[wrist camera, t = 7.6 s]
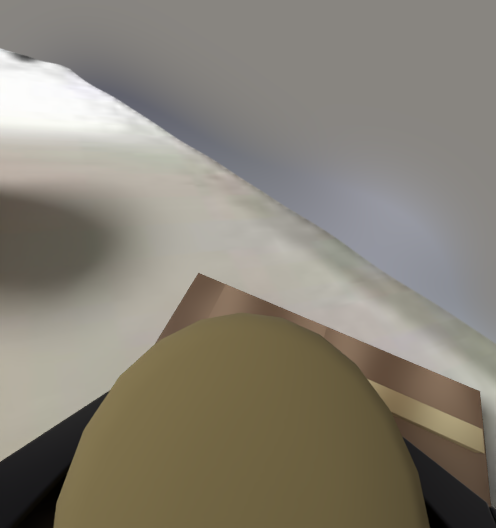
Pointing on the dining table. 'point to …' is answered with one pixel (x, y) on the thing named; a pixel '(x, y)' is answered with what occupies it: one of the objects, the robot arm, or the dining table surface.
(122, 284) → the dining table surface
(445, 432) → the walnut jig
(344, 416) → the cork
